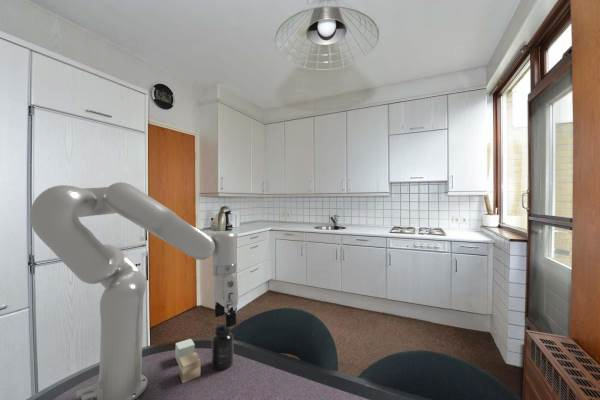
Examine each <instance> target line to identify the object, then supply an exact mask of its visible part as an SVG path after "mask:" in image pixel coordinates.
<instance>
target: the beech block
mask: <svg viewBox="0 0 600 400" xmlns="http://www.w3.org/2000/svg"><path fill="white" fill-rule="evenodd" d="M201 361H202V359H201V358H200V356H199V354H198V353H197V352H195V353H192V354H189V355H186V356H184V357H181V358H179V365H178V376H179V378H180V380H181V382H182V384H184V383H186V382H190V381H192V380H195V379H197V378H199V377H201V371H202V369H201V363H202V362H201Z"/></svg>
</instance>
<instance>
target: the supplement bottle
mask: <svg viewBox="0 0 600 400" xmlns="http://www.w3.org/2000/svg"><path fill="white" fill-rule="evenodd" d="M214 330H215V331H214V335H213V337H212V338H211V367H212V368H213V369H214V370H216V371H217V370H218V371H222V370H226V369H229V368H230V367H231V366H232V365H233V364H234V363H233V362H234V335H233V333H232V332H231V327H228V328H227V327H226V323H221V324H218V325H217V326H215V329H214Z"/></svg>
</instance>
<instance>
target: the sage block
mask: <svg viewBox="0 0 600 400" xmlns="http://www.w3.org/2000/svg"><path fill="white" fill-rule="evenodd" d="M174 347H175V355H174V356H175V358H174V359H175V361H176V363H177V364H178V366H179V358H181V357H184V356H186V355H189V354H192V353H195V351H196V344H195V343H194V341H193V340H192V338H188V339H185V340H182V341H178V342H175V346H174Z"/></svg>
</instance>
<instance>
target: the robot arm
mask: <svg viewBox="0 0 600 400" xmlns="http://www.w3.org/2000/svg"><path fill="white" fill-rule="evenodd" d="M114 214H118V215H120V216H121V217H123V218H124V219H126V220H128V221H130V222H132V223H133V224H134V225H137V226H139V227H140V228H141V229H144V230H145V231H147V232H149V233H150V234H152V235H153V236H155V237H156V238H158V239H160V240H162V241H164V242H165V243H167V244H169V245H170V246H172V247H174V248H175V249H177V250H178V251H180V252H181V253H184V254H185V255H187V256H189V257H191V258H192V259H195V260H198V261H201V260H202V261H203V260H204V261H205V260H206V259H208V258H210V257H212V276H214V281H213V282H214V284H213V296H214V297H213V298H214V316H215V317H216V318H218V317H222V316H225V324H226V327H227V328H228V327H230V328H231V327H234V326H236V325H237V310H238V303H239V291H238V280H237V274H236V273H237V253H236V252H237V248H236V245H237V244H236V243H237V242H236V240H237V239H236V234H235V233H234V232H232V231H222V232H216V233H214V232H213V233H211V232H210V233H209V232H207V233H206V232H202V231H201V230H199V229H198V228H196V227H194V226H193V225H192V224H189V222H188V221H185V220H184V219H183V218H181V217H180V216H179V215H178V214H176V213H175V211H172V210H171V209H170V208H168V207H166V206H165V205H163V204H162V203H160V202H159V201H158V200H156V199H154V198H152V197H151V196H149V195H148V194H146V193H144V192H143V191H141V190H140V189H138V188H137V187H135V186H133V185H132V184H130V183H127V182H121V181H120V182H114V183H112V184H111V185H109V186H103V187H88V188H87V187H86V188H85V187H84V188H81V187H78V186H74V185H69V184H68V185H63V184H62V185H61V184H60V185H54V186H52V187H49V188H47V189H45V190H44V191H42V192H40V194H39V195H38V196H37V197H36V198H35V200H34V201H33V203H32V205H31V207H30V211H29V221H30V225H31V228H32V230H33V232H34V233H35V234H36V235H37V237H38V238H39V239H40V240H41V241H42V242H43V243H44V244H45V245H46V247H48V248H49V249H50V250H51V251H52V252H53V253H54V255H56V257H57V258H58V259H59V260H60V261H61V262H62V263H63V264H64V265H65V266H66V267H67V269H69V270H70V271H71V272H72V273H73V274H74V275H75V277H77V278H78V279H79V280H80V281H81V282H82V283H86V284H88V285H95V284H101V285H102V286H103V287H104V290H103V292H102V294H101V297H100V302H99V315H100V316H99V317H100V344H99V345H100V349H99V350H100V351H99V369H98V370H99V371H98V373H99V376H98V378H97V382H96V383H93V384H92V385H91V386H88V387H84V388H81V389H78V390H76V392H75V400H79V399H81V400H135V399H138V397H140V396H141V395H142V394H143V393H144V392H145V390H146V388H147V387H148V378H147V376H145V375H144V374H142V365H143V364H142V362H143V361H142V359H143V357H142V356H143V331H144V329H143V326H144V325H143V324H144V297H145V292H146V290H147V289H146V288H147V280H146V277H145V276H144V274H143V273H142V272H141V270H140V269H139V268H138V267H137V266H136V265H135V264H134V263H133V262H132V261H131V259H130V258H129V257H127V255H126V254H125V253H124V252H123V251H122V250H121V249H119V248H118V247H116V246H115V245H111V244H103V243H102V242H101V241H100V240H99V239H98V238H97V237H96V236H95V234H93V232H92V231H91V230H90V229H88V227H86V226H85V225H84V224H83V223H82V222H81V220H80V219H79V218H84V217H92V216H101V215H102V216H103V215H104V216H105V215H114ZM225 311H226V312H225Z"/></svg>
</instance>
